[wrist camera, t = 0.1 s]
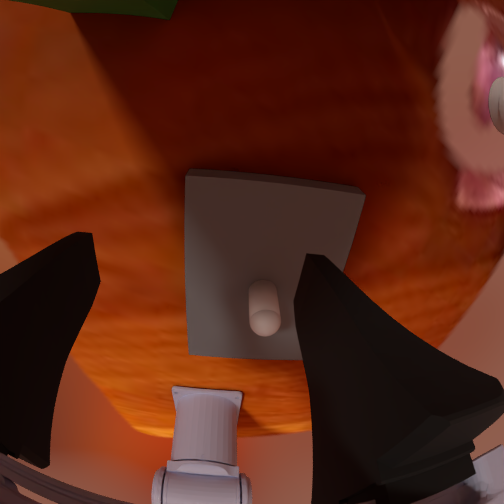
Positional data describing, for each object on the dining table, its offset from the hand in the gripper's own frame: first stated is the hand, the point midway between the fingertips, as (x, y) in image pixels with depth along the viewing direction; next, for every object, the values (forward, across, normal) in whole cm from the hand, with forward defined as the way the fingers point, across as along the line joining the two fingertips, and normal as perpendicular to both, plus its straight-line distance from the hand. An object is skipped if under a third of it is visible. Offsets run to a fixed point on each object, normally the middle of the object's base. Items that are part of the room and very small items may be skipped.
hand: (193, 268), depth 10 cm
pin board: (+10, -4, +8) cm, 13 cm away
